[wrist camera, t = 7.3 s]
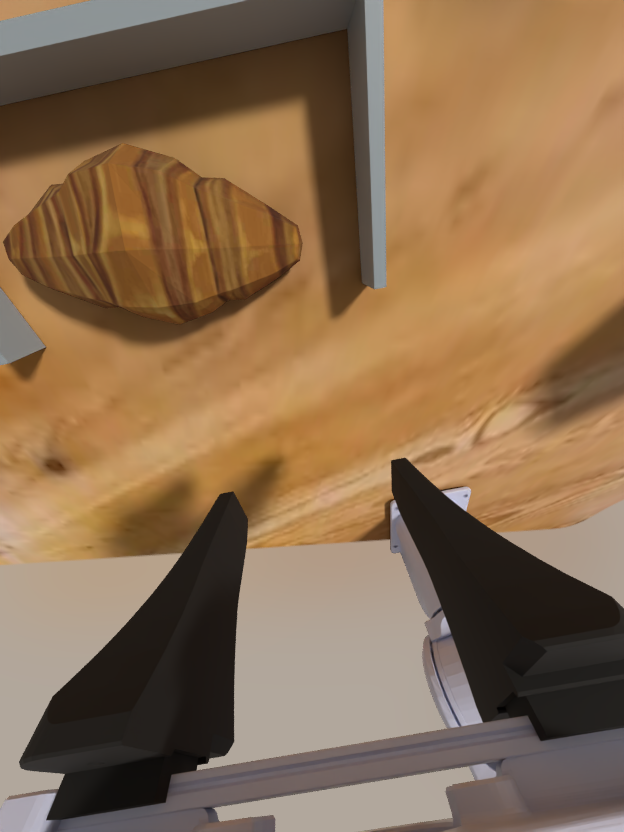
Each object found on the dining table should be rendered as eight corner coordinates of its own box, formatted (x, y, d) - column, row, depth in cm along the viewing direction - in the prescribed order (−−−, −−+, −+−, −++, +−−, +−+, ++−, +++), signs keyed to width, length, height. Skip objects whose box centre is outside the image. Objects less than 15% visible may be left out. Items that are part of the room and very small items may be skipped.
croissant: (296, 153, 12) (302, 107, 8) (304, 307, 16) (312, 329, 12) (-12, 163, 12) (-178, 119, 7) (72, 322, 15) (-6, 352, 11)
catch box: (372, 280, 15) (386, 286, 13) (36, 349, 16) (-3, 365, 13) (361, -1, 10) (382, -66, 8) (-150, 113, 10) (-261, 80, 8)
